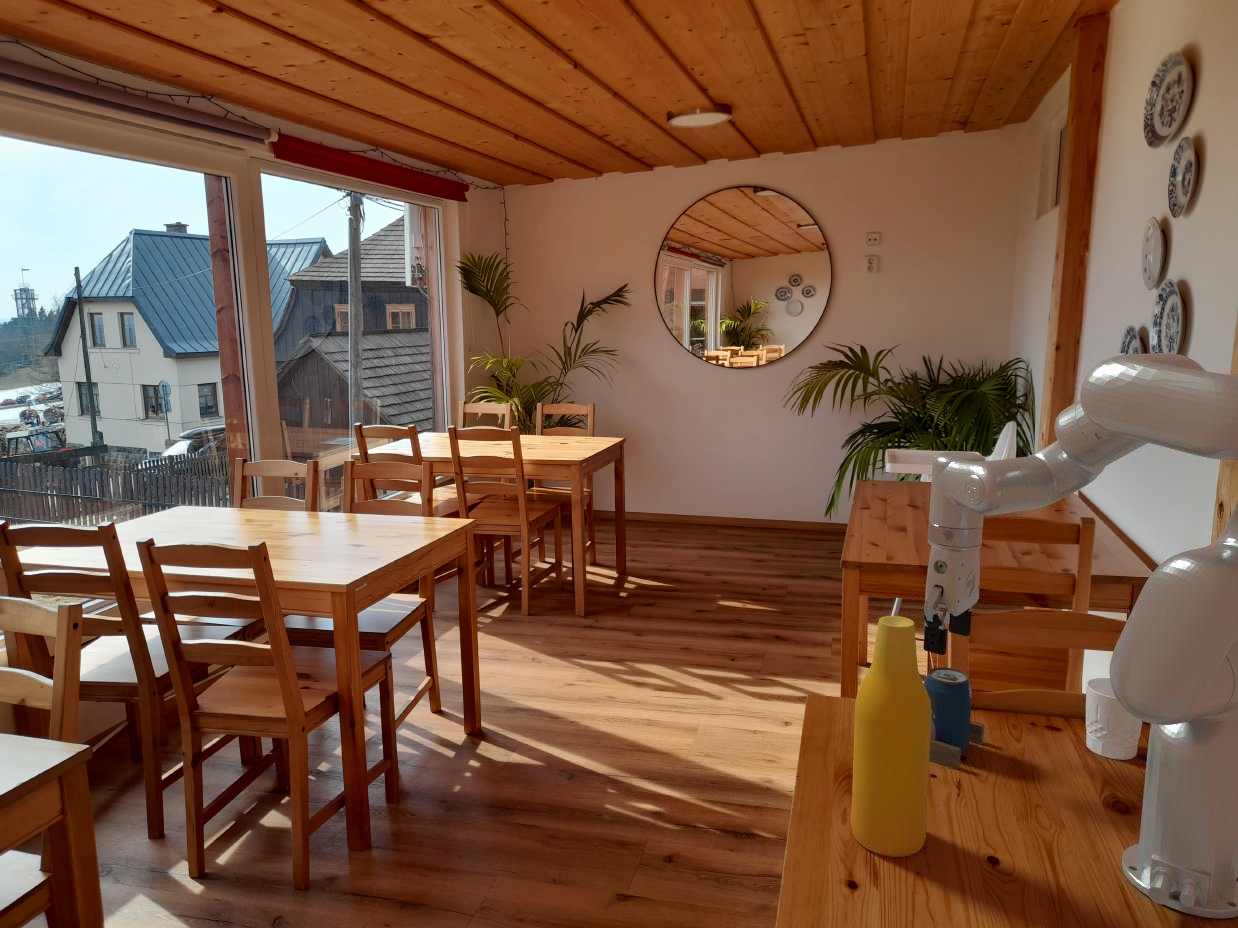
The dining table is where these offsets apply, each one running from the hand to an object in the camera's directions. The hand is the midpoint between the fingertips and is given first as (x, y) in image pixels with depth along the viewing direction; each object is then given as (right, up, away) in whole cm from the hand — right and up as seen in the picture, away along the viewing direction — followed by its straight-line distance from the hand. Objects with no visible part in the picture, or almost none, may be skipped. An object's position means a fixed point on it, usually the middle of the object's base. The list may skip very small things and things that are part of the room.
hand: (947, 642), depth 128 cm
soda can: (0, -17, +2) cm, 17 cm away
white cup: (+26, -17, +1) cm, 31 cm away
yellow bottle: (-16, -21, -21) cm, 33 cm away
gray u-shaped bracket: (0, -17, +2) cm, 17 cm away
